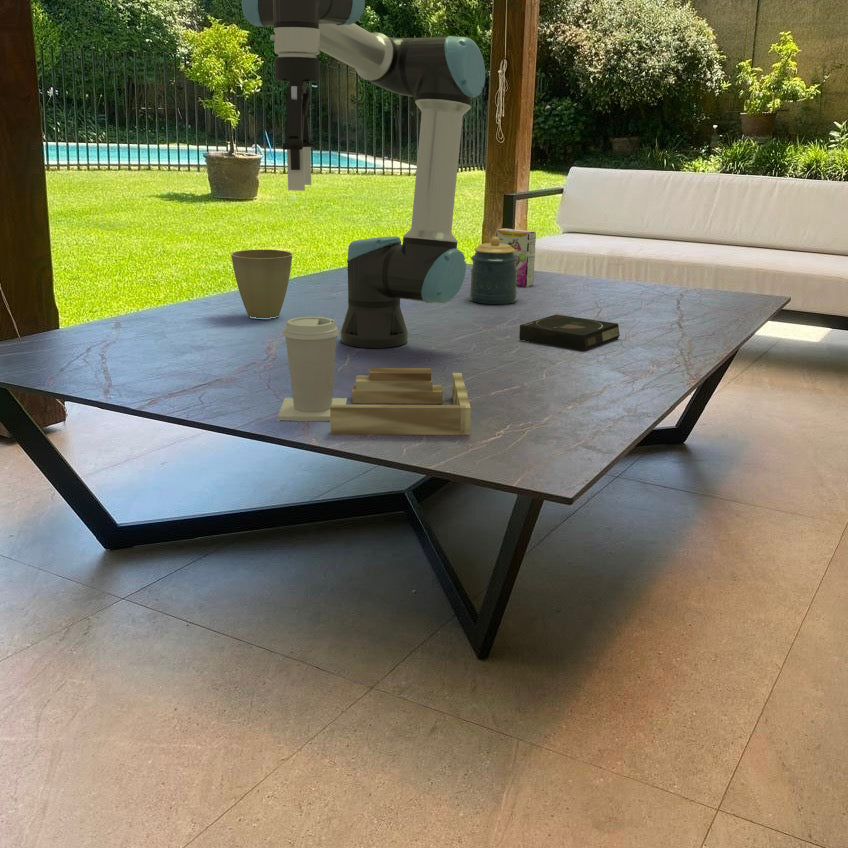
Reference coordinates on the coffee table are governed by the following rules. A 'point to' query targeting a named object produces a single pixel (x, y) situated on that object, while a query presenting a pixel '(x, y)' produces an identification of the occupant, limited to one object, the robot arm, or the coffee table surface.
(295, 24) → the robot arm
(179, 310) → the coffee table surface
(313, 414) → the ceramic tile
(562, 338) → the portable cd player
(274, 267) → the plant pot
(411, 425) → the frame
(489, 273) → the canister
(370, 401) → the offcut stack
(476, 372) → the coffee table surface
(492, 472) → the coffee table surface
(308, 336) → the coffee cup
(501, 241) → the candy bar box
